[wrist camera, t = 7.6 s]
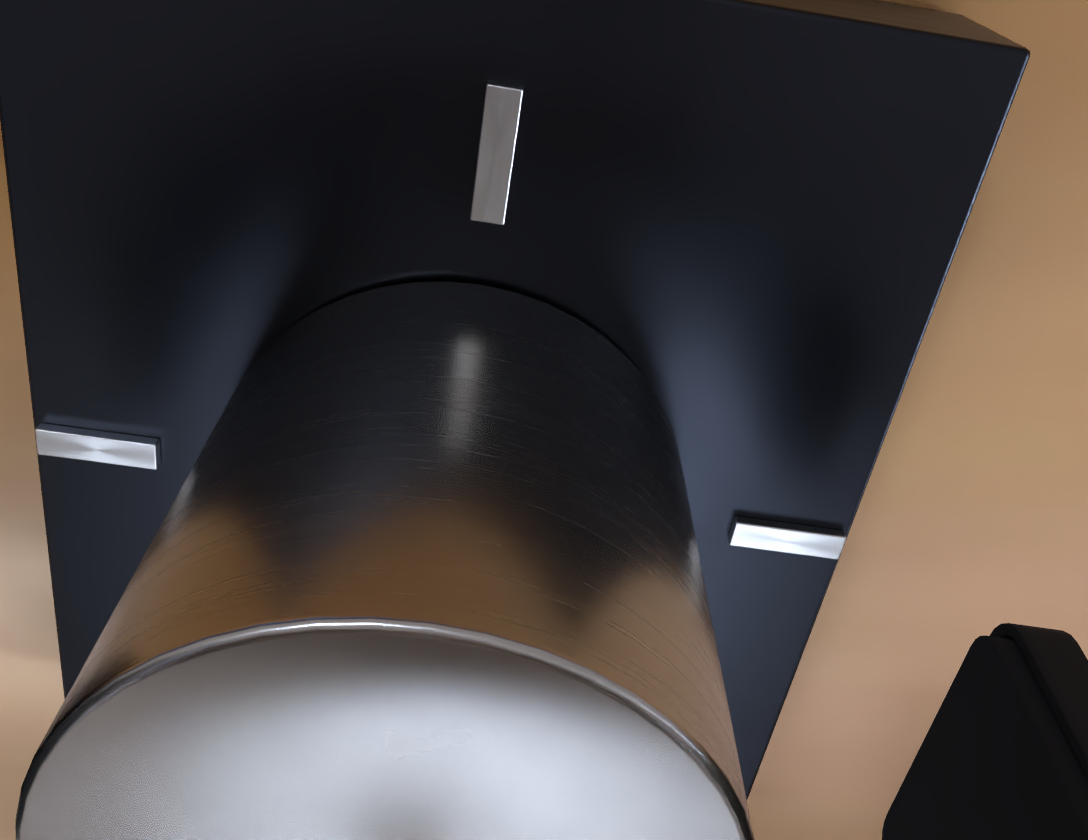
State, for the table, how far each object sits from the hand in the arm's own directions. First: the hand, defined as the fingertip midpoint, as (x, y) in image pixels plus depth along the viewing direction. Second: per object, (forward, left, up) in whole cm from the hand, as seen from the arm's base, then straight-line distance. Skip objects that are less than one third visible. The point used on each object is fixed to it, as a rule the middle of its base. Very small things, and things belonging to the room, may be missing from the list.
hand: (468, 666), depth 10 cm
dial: (0, 0, -3) cm, 3 cm away
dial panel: (0, 0, -5) cm, 5 cm away
